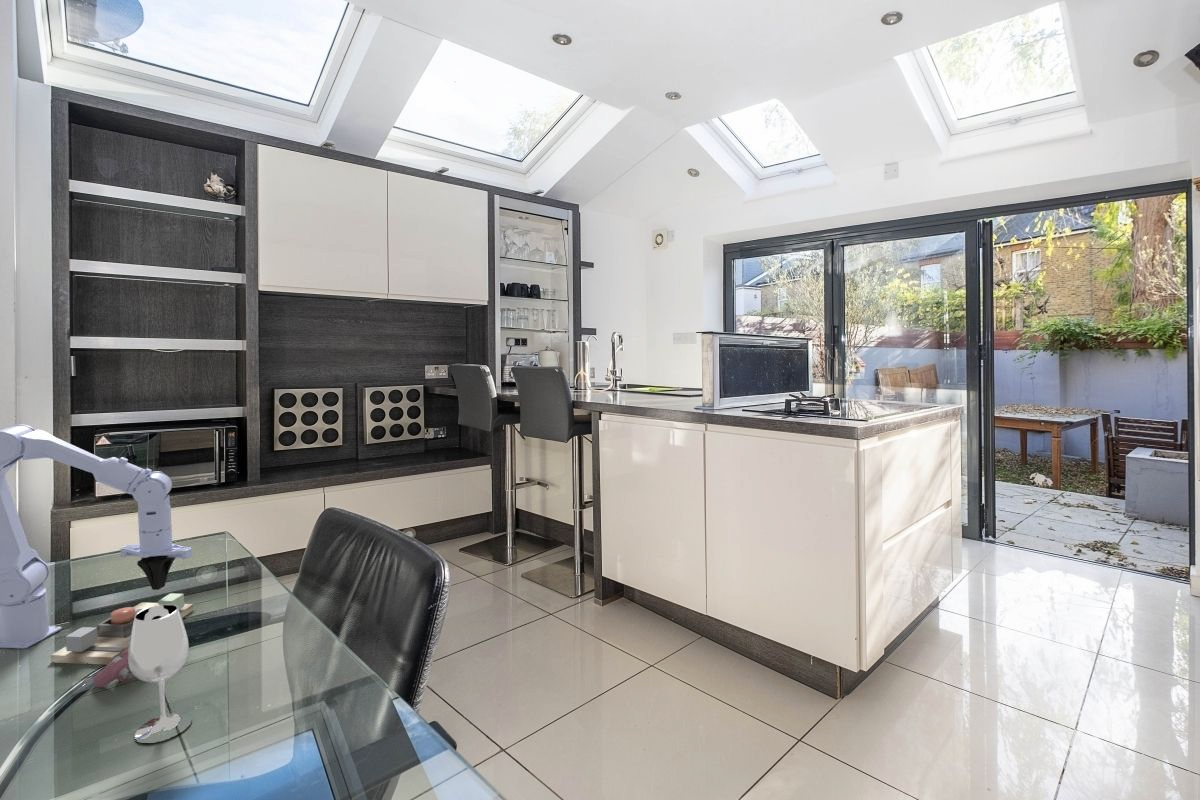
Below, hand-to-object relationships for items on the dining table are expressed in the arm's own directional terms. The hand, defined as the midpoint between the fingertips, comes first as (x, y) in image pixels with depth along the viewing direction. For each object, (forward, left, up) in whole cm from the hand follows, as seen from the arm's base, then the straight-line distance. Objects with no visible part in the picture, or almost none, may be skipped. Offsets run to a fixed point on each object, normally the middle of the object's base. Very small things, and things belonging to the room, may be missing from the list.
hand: (158, 587), depth 129 cm
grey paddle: (-3, -15, -5) cm, 17 cm away
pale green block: (+3, 0, -5) cm, 6 cm away
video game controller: (+10, -21, -7) cm, 25 cm away
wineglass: (+28, -35, -7) cm, 45 cm away
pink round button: (-1, -8, -4) cm, 9 cm away
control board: (-1, -7, -7) cm, 10 cm away
